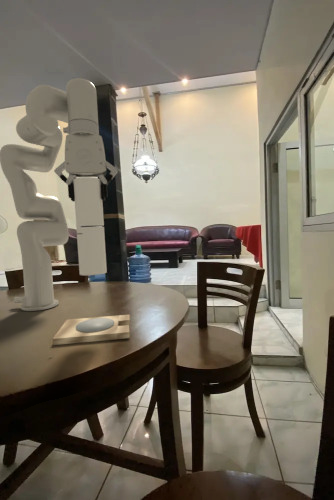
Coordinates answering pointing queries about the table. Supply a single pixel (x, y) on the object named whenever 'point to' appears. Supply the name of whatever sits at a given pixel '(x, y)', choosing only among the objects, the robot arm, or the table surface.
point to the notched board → (93, 329)
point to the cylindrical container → (90, 226)
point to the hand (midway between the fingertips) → (88, 199)
